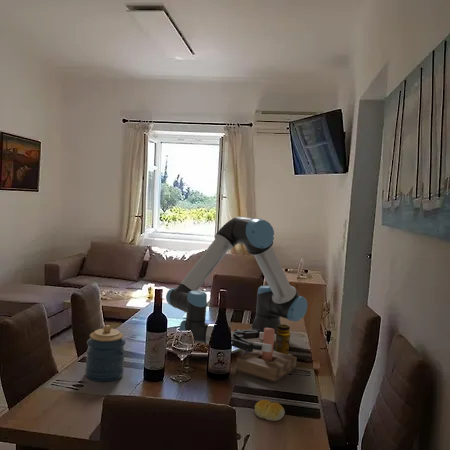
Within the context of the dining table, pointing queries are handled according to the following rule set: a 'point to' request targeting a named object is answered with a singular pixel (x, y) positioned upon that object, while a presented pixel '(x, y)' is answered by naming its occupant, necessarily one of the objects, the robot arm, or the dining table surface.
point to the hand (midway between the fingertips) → (273, 343)
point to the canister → (105, 355)
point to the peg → (268, 339)
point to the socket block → (266, 366)
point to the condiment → (282, 339)
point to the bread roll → (269, 410)
